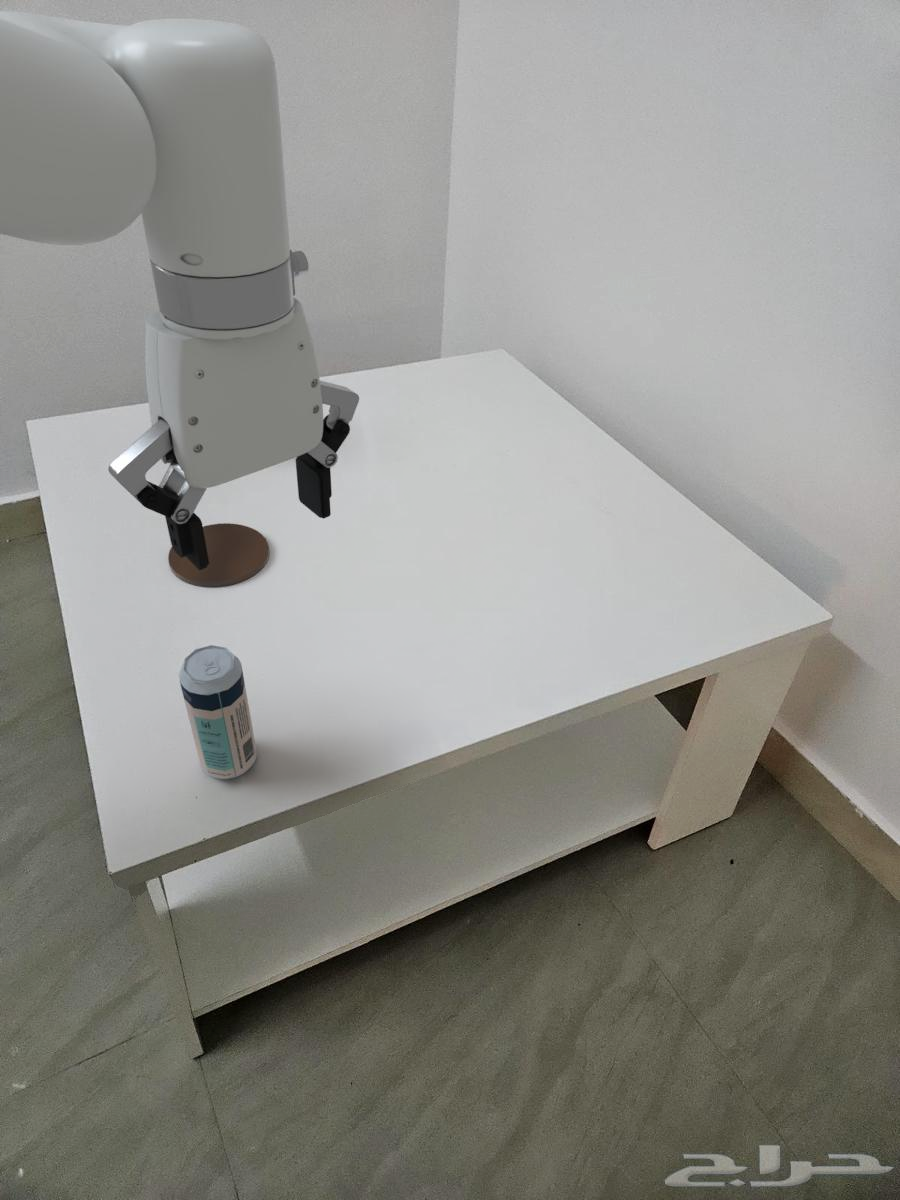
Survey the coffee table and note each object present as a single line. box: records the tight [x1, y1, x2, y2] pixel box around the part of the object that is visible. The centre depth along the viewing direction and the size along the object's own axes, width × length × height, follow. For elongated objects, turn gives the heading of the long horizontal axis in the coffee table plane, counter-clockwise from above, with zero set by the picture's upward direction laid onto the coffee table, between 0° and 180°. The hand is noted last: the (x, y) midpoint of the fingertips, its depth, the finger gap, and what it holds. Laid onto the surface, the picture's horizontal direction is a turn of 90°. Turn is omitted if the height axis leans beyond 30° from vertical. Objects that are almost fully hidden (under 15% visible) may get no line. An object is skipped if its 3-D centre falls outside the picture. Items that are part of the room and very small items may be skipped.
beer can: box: [178, 644, 258, 780], centre depth 67 cm, size 5×5×12 cm
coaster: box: [167, 522, 270, 588], centre depth 92 cm, size 11×11×1 cm
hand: (257, 532), depth 57 cm, fingers open, 9 cm apart
